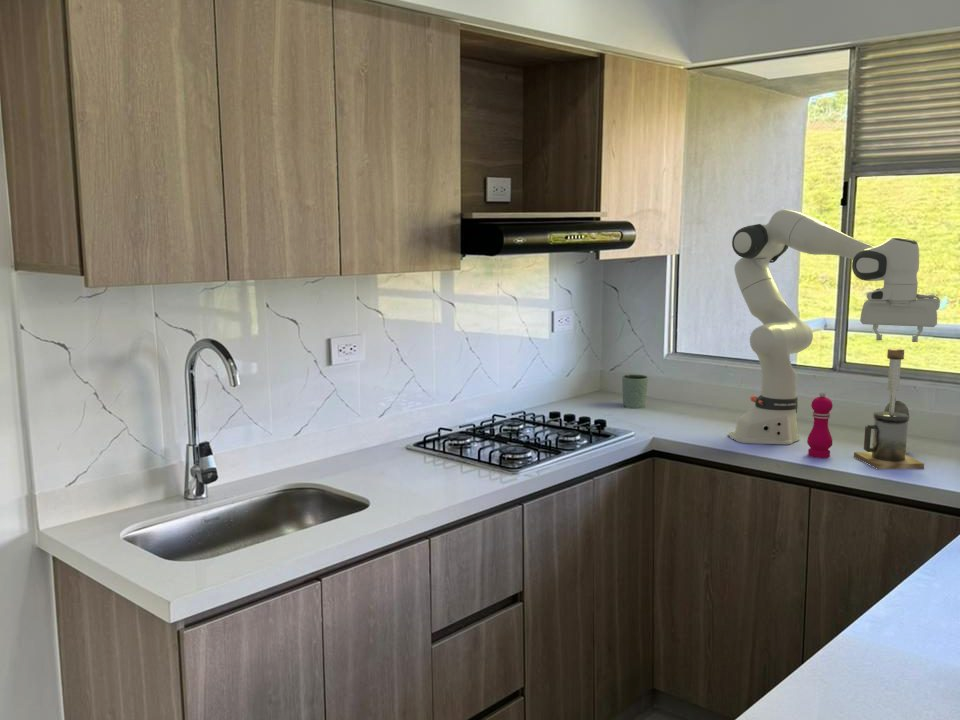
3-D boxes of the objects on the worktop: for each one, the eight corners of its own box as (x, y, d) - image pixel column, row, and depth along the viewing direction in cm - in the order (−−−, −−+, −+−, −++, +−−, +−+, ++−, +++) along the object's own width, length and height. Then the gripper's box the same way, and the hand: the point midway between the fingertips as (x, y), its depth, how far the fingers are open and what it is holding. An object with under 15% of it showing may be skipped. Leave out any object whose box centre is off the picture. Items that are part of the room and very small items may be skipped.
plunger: (889, 391, 251) (892, 350, 250) (882, 389, 256) (884, 348, 254) (904, 391, 252) (907, 350, 250) (896, 389, 256) (899, 348, 254)
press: (872, 462, 252) (877, 386, 248) (856, 453, 261) (861, 380, 258) (912, 461, 252) (918, 386, 249) (895, 453, 262) (900, 380, 258)
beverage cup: (909, 452, 268) (914, 389, 265) (884, 451, 270) (888, 388, 267) (903, 447, 275) (907, 385, 272) (878, 446, 277) (882, 384, 274)
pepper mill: (811, 451, 270) (814, 388, 267) (834, 455, 265) (838, 391, 262) (803, 456, 264) (806, 392, 261) (827, 460, 260) (831, 395, 257)
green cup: (632, 402, 347) (633, 373, 345) (652, 406, 339) (653, 376, 337) (616, 406, 340) (616, 376, 339) (635, 410, 333) (636, 379, 331)
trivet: (877, 469, 250) (877, 464, 249) (853, 456, 264) (854, 452, 263) (924, 468, 250) (924, 463, 250) (898, 456, 264) (898, 451, 264)
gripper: (940, 294, 248) (936, 341, 250) (862, 292, 257) (859, 338, 259) (940, 295, 242) (937, 344, 244) (861, 293, 251) (858, 340, 253)
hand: (896, 341), depth 252 cm, fingers open, 8 cm apart
